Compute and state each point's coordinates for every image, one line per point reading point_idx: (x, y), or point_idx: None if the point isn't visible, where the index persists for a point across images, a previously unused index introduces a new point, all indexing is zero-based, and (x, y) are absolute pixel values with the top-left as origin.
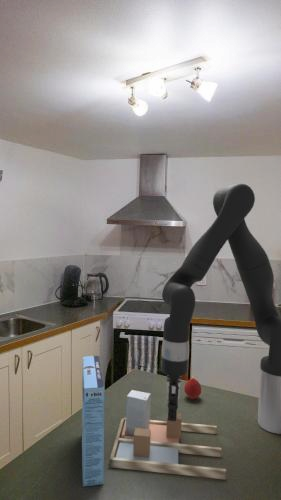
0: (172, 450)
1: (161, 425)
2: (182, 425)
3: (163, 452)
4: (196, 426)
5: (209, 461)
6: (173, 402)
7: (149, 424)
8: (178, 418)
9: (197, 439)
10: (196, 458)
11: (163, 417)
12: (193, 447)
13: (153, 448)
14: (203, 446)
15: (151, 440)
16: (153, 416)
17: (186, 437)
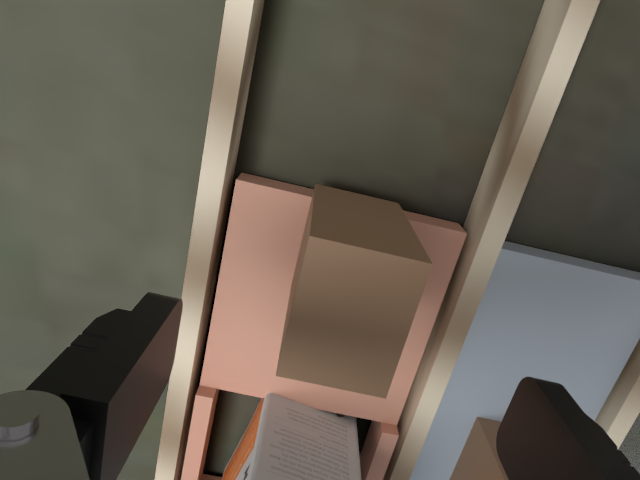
0: (512, 290)
1: (218, 307)
2: (231, 148)
3: (519, 348)
4: (252, 16)
5: (622, 28)
6: (172, 339)
7: (267, 420)
8: (407, 291)
9: (355, 42)
10: (564, 120)
11: (62, 246)
12: (542, 139)
13: (469, 397)
14: (560, 48)
15: (387, 396)
16: (57, 314)
17: (322, 129)
